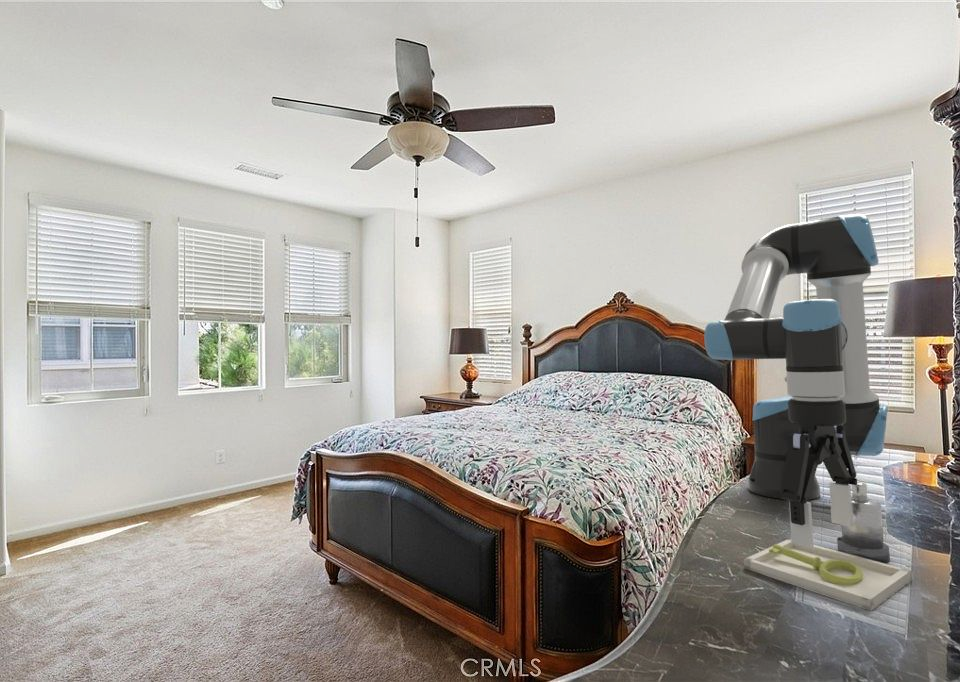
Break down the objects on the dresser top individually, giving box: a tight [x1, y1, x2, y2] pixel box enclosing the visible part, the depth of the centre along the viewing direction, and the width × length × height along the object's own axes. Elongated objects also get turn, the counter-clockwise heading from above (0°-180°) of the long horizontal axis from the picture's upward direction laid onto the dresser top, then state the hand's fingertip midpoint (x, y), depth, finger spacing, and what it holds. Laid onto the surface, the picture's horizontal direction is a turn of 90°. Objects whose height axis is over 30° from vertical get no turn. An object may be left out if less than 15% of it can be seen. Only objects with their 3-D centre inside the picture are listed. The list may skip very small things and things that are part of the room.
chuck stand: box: [836, 481, 891, 564], centre depth 85 cm, size 7×7×12 cm
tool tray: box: [743, 538, 913, 612], centre depth 78 cm, size 15×17×2 cm
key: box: [769, 543, 863, 585], centre depth 78 cm, size 7×12×2 cm, turn 53°
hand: (823, 534), depth 78 cm, fingers open, 13 cm apart
